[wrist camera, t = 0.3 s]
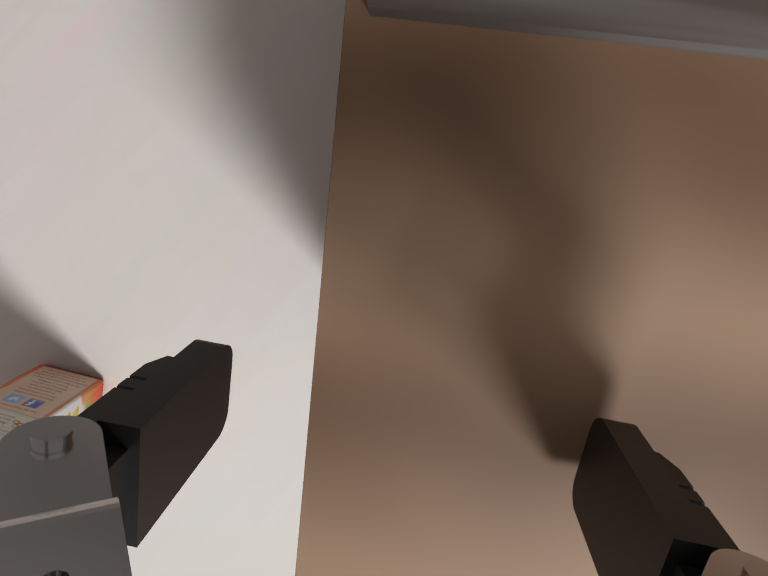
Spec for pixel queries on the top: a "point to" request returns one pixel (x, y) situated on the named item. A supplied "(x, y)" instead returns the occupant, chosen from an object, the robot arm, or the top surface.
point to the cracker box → (45, 396)
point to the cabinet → (536, 276)
